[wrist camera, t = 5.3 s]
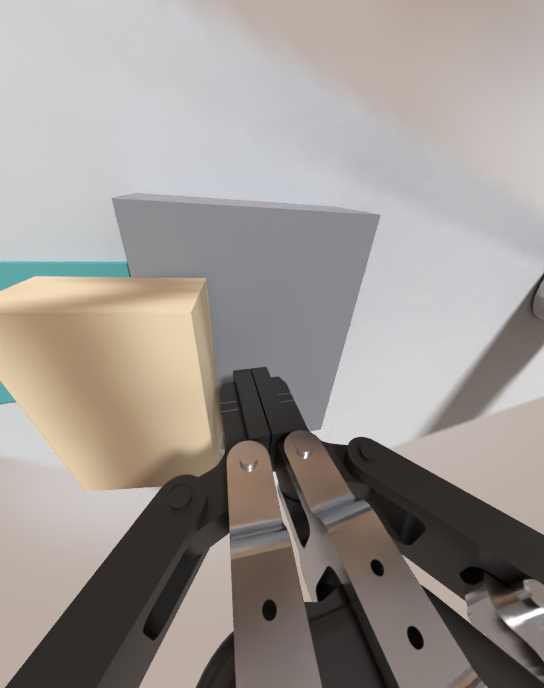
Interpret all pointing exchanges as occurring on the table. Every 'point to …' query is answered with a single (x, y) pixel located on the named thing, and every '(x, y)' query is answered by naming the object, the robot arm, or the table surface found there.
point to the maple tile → (115, 375)
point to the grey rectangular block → (260, 280)
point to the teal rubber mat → (16, 272)
